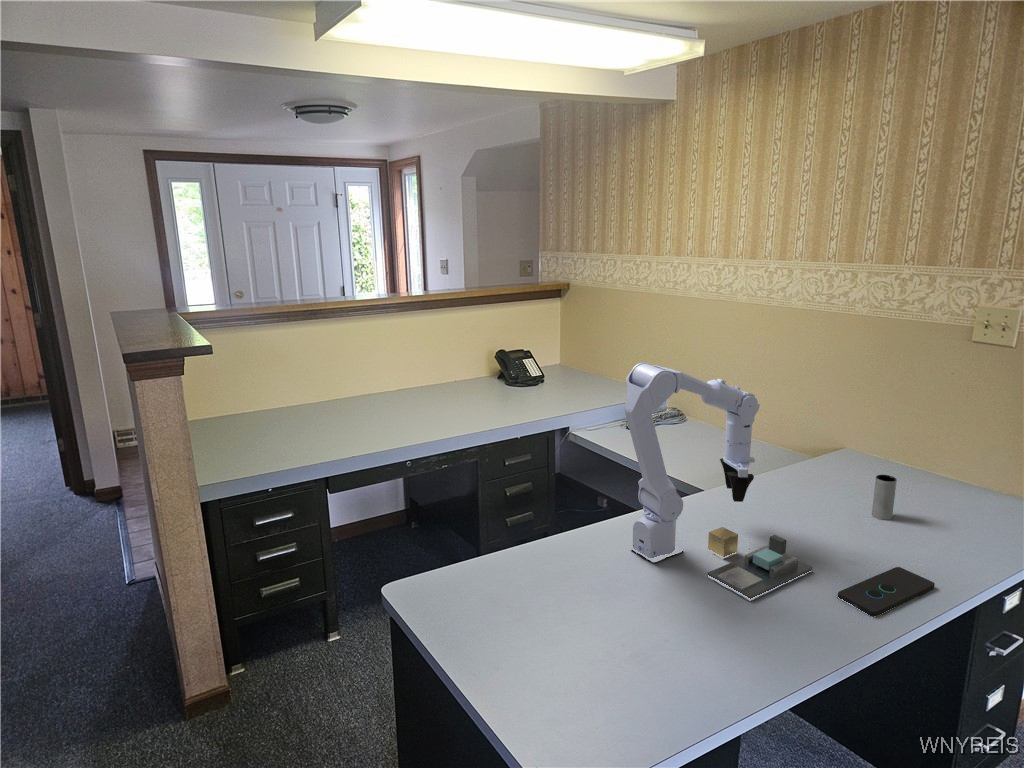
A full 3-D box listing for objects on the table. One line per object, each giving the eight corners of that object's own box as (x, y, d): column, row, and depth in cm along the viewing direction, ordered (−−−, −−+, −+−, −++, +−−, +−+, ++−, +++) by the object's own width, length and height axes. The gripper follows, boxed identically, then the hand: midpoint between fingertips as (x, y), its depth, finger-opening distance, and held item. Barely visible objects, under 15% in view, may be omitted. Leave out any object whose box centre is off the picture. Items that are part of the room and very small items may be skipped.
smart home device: (835, 591, 130) (897, 565, 139) (834, 599, 130) (896, 572, 139) (874, 612, 123) (937, 583, 132) (873, 620, 123) (936, 590, 132)
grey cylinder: (887, 512, 166) (891, 474, 164) (895, 520, 162) (900, 481, 159) (868, 512, 167) (872, 474, 164) (876, 519, 162) (880, 481, 160)
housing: (723, 560, 146) (724, 539, 145) (707, 551, 150) (708, 532, 148) (736, 554, 148) (738, 534, 147) (721, 546, 152) (722, 526, 151)
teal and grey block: (768, 570, 137) (770, 548, 136) (752, 562, 140) (754, 541, 139) (786, 562, 140) (788, 540, 139) (771, 554, 143) (772, 533, 142)
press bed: (750, 601, 130) (751, 587, 129) (707, 577, 139) (708, 564, 138) (812, 571, 140) (813, 558, 139) (768, 551, 149) (769, 538, 148)
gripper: (763, 451, 145) (759, 507, 148) (748, 431, 159) (745, 483, 162) (730, 450, 146) (727, 506, 149) (718, 430, 160) (715, 482, 163)
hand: (734, 494), depth 155 cm, fingers open, 7 cm apart
